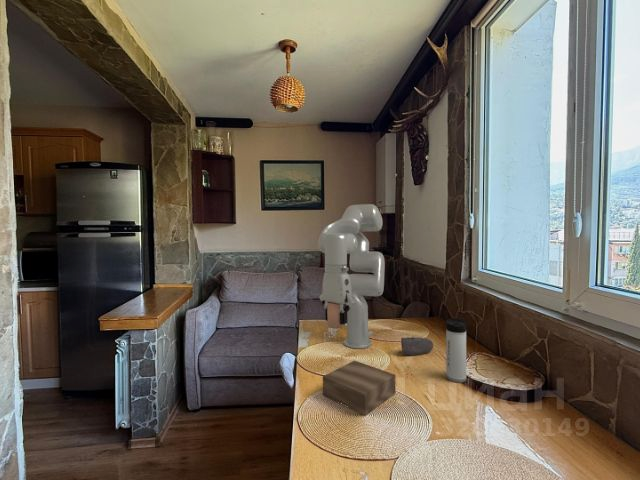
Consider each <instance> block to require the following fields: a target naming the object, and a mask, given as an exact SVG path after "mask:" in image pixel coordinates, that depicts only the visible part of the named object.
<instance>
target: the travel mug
mask: <svg viewBox="0 0 640 480" xmlns="http://www.w3.org/2000/svg"><path fill="white" fill-rule="evenodd" d="M445 325H446V328H445V330H446V331H445V333H446V334H445V340H446V341H445V343H446V345H445V347H446V348H445V350H446V351H445V359H446V360H445V361H446V362H445V367H446V369H445V372H446V379H448V380H449V381H451V382H453V383H458V384H459V383H465V382H466V381H467V322H466V321H465V320H463V319H461V318H460V319H459V318H458V317H452V318H449V319H446V324H445Z"/></svg>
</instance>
